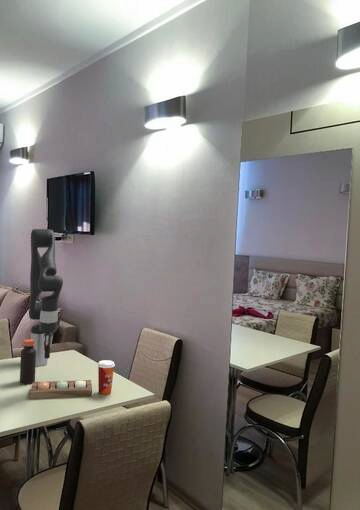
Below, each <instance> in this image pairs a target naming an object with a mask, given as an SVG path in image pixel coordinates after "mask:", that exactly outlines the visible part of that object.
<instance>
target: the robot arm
mask: <svg viewBox="0 0 360 510" xmlns="http://www.w3.org/2000/svg"><path fill="white" fill-rule="evenodd" d="M30 232H31V233H30V255H31V256H30V277H29V279H30V283H29V286H30V288H29V289H30V293H29V294H30V295H29V304H28V317H29V320H33V321H37V320H39V323H38V324H35V325H32V326H31V328H30V339H33V340H35V344H34V349H35V350H36V367H42V366H46V365H48V361H49V359H50V356H51V355H50V354H51V349H52V348H51V346H52V343H53V337H54V334H53V333H54V332H56V331H57V330H58V320H59V319H58V316H59V313H58V305H59V298H60V294H61V291H62V289H63V285H64V280H63V278H62V277H61V276H59V275H56V274H57V272H58V271H57V265H56V264H57V263H56V239H55V232H54V230H53V229H49V228H33V229H31V231H30ZM39 248H41V249H42V248H45V249H46V248H47V250H46V251H45V252H44V253H43V254H42V255H41V254H40V252H39V250H38V249H39ZM42 292H44V293H46V292H47V293H49V292H52V294H50V295H47V296H44V297H42V298H41V301H39V302H38V301H37V300H38V298H39V296H40V295H41V293H42Z"/></svg>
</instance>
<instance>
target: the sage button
mask: <svg viewBox="0 0 360 510" xmlns="http://www.w3.org/2000/svg"><path fill="white" fill-rule="evenodd" d="M58 381H59V382H57V387H56V389H58V388H68V382H66V381H67V380H58Z"/></svg>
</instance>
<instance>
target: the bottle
mask: <svg viewBox="0 0 360 510" xmlns="http://www.w3.org/2000/svg"><path fill="white" fill-rule="evenodd" d="M34 344H35V340H33V339H31V338H29V339H24V340H23V348H22V349H21V351H20V364H19V365H20V367H19V368H20V369H19V383H20V385H21V384H22V385H32V383H33V382H36V368H37V366H36V350H35V349H34Z"/></svg>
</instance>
